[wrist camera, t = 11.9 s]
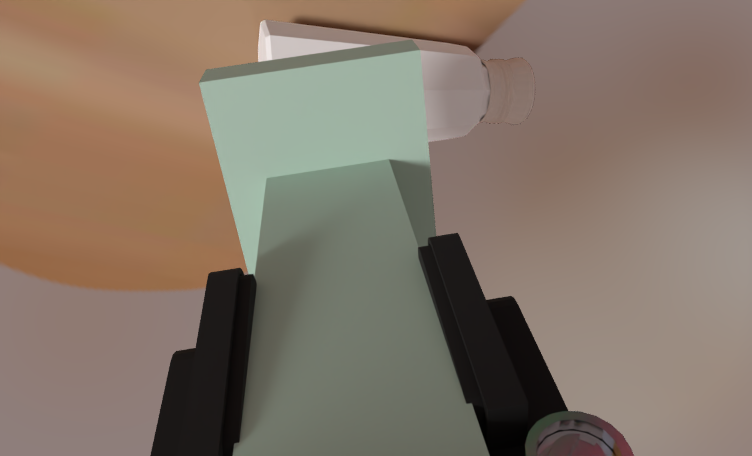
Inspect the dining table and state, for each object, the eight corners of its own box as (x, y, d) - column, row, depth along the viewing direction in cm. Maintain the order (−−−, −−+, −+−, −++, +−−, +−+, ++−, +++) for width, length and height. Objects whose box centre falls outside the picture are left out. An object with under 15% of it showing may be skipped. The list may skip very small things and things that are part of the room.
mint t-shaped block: (411, 39, 15) (623, 304, 5) (436, 306, 19) (584, 752, 9) (206, 69, 15) (20, 404, 5) (272, 334, 19) (241, 818, 9)
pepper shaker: (268, 191, 25) (520, 180, 27) (272, 88, 20) (572, 87, 23) (256, 95, 28) (485, 94, 30) (258, -12, 23) (525, -3, 26)
